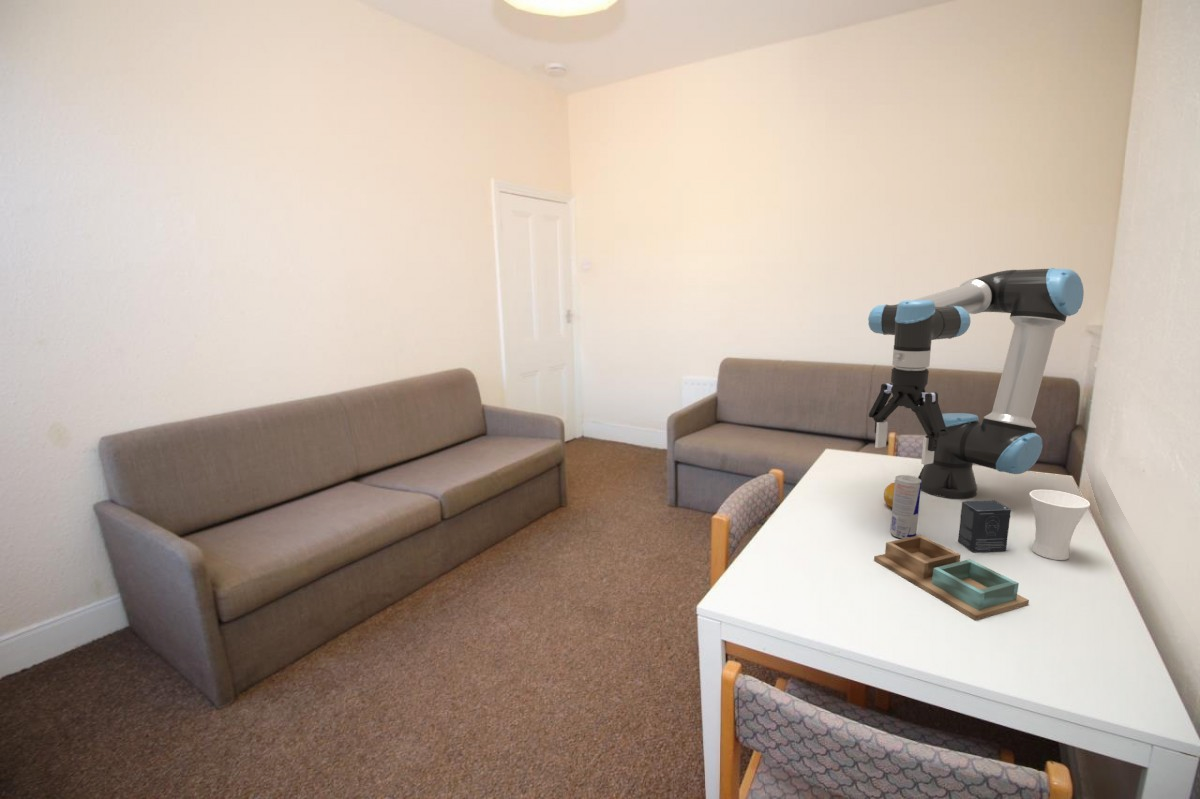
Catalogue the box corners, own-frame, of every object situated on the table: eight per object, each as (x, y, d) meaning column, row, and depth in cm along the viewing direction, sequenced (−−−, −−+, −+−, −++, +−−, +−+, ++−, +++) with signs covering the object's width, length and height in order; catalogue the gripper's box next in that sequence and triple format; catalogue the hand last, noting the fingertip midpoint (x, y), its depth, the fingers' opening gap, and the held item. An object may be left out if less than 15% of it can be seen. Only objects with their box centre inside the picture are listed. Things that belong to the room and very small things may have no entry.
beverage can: (919, 541, 132) (925, 483, 129) (894, 539, 133) (899, 482, 130) (911, 531, 137) (916, 474, 134) (887, 529, 138) (892, 473, 135)
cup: (1031, 561, 121) (1039, 504, 118) (1014, 540, 131) (1022, 487, 128) (1089, 568, 118) (1100, 510, 115) (1068, 546, 127) (1077, 492, 124)
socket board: (874, 560, 124) (875, 542, 123) (921, 549, 128) (923, 531, 127) (975, 620, 101) (978, 598, 100) (1028, 604, 106) (1031, 583, 105)
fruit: (903, 491, 156) (896, 471, 153) (928, 504, 149) (921, 483, 145) (882, 508, 155) (874, 488, 152) (905, 522, 148) (898, 501, 144)
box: (989, 540, 131) (994, 499, 129) (1006, 552, 126) (1012, 509, 123) (956, 541, 131) (961, 500, 129) (972, 552, 126) (977, 510, 123)
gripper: (856, 362, 137) (851, 442, 141) (946, 377, 113) (936, 473, 118) (880, 359, 139) (874, 439, 143) (973, 374, 116) (962, 468, 120)
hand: (902, 455), depth 131 cm, fingers open, 13 cm apart
